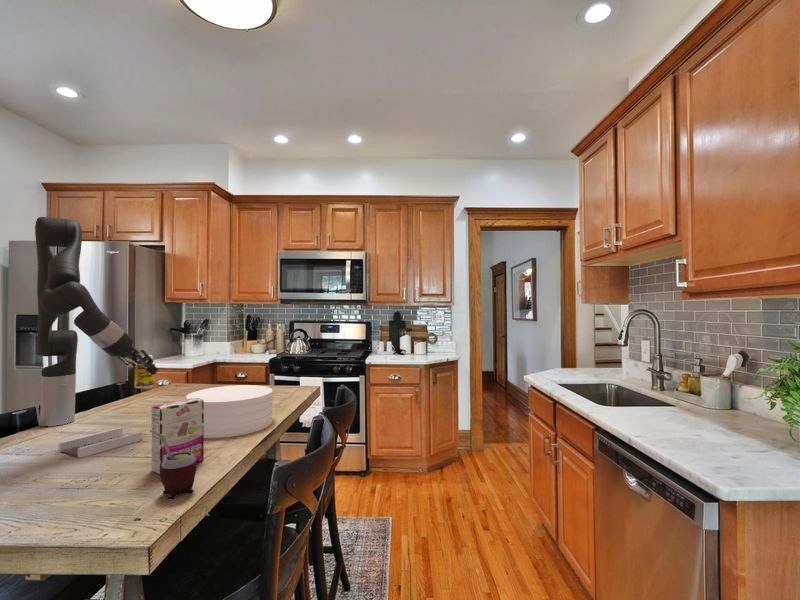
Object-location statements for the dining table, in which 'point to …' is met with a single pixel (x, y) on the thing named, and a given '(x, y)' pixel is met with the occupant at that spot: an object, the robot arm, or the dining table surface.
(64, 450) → the trap channel
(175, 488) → the mate gourd
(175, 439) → the candy bar box
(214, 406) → the plate stack
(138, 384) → the supplement bottle
